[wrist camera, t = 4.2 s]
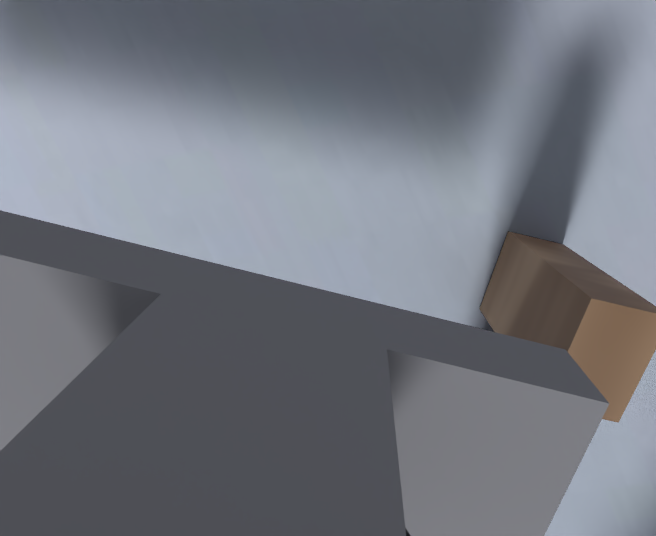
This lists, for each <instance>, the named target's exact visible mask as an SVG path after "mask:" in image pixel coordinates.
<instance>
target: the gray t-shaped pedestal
mask: <svg viewBox="0 0 656 536" xmlns="http://www.w3.org/2000/svg"><path fill="white" fill-rule="evenodd" d="M608 405H609V402H608V401H607V400H606V399H605V398H604V396H603V395H602V394H601V393H600V391H599V390H598V389H597V388H596V386H595V385H594V384H593V383H592V382H591V380H590V379H589V378H588V377H587V375H586V374H585V373H584V372H583V370H582V369H581V368H580V367H579V366H578V364H577V363H576V362H575V361H574V359H573V358H572V357H571V356H570V354H569V353H568V352H567V351H566V350H565V349H561V348H557V347H553V346H549V345H545V344H541V343H537V342H533V341H529V340H524V339H520V338H516V337H512V336H508V335H504V334H500V333H496V332H492V331H488V330H484V329H480V328H476V327H472V326H468V325H463V324H459V323H455V322H451V321H447V320H443V319H439V318H435V317H431V316H427V315H423V314H419V313H415V312H411V311H407V310H403V309H398V308H394V307H390V306H386V305H382V304H378V303H374V302H370V301H366V300H362V299H358V298H354V297H350V296H346V295H342V294H337V293H333V292H329V291H325V290H321V289H317V288H313V287H309V286H305V285H301V284H297V283H293V282H289V281H285V280H281V279H276V278H272V277H268V276H264V275H260V274H256V273H252V272H248V271H244V270H240V269H236V268H232V267H228V266H224V265H220V264H216V263H211V262H207V261H203V260H199V259H195V258H191V257H187V256H183V255H179V254H175V253H171V252H167V251H163V250H159V249H155V248H150V247H146V246H142V245H138V244H134V243H130V242H126V241H122V240H118V239H114V238H110V237H106V236H102V235H98V234H94V233H89V232H85V231H81V230H77V229H73V228H69V227H65V226H61V225H57V224H53V223H49V222H45V221H41V220H37V219H33V218H29V217H24V216H20V215H16V214H12V213H8V212H4V211H0V536H406V529H407V531H408V532H409V534H410V535H411V536H544V535H545V533H546V531H547V529H548V527H549V525H550V523H551V521H552V518H553V516H554V514H555V512H556V510H557V508H558V506H559V504H560V502H561V500H562V498H563V496H564V494H565V492H566V490H567V488H568V486H569V484H570V482H571V480H572V478H573V476H574V474H575V472H576V470H577V468H578V466H579V464H580V462H581V460H582V458H583V456H584V454H585V452H586V450H587V448H588V446H589V444H590V442H591V440H592V438H593V436H594V434H595V432H596V430H597V428H598V426H599V424H600V422H601V420H602V418H603V416H604V414H605V412H606V410H607V408H608ZM405 527H406V529H405Z"/></svg>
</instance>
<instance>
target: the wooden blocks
mask: <svg viewBox="0 0 656 536" xmlns="http://www.w3.org/2000/svg"><path fill="white" fill-rule="evenodd" d="M480 311H481V312H482V314H483V315H484V317H485V318H486V320H487V321H488V323H489V324H490V326H491V327H492V329H493V330H494V332H496V333H500V334H504V335H508V336H512V337H516V338H520V339H524V340H529V341H533V342H537V343H541V344H545V345H549V346H553V347H557V348H561V349H565V350H566V351H567V352H568V353H569V354H570V356H571V357H572V358H573V359H574V361H575V362H576V363H577V364H578V366H579V367H580V368H581V369H582V370H583V372H584V373H585V374H586V375H587V377H588V378H589V379H590V380H591V382H592V383H593V384H594V385H595V386H596V388H597V389H598V390H599V391H600V393H601V394H602V395H603V396H604V398H605V399H606V400H607V401H608V402H609V405H608V408H607V410H606V412H605V414H604V416H603V418H602V419H605V420H610V421H614V422H619V420H620V418H621V416H622V414H623V412H624V410H625V409H626V407H627V405H628V403H629V401H630V399H631V397H632V395H633V393H634V391H635V389H636V387H637V385H638V383H639V381H640V379H641V377H642V375H643V373H644V371H645V369H646V367H647V365H648V363H649V361H650V359H651V357H652V356H653V354H654V352H655V350H656V306H654V305H653V304H651V303H650V302H648V301H647V300H645V299H644V298H642V297H641V296H639V295H638V294H636V293H635V292H633V291H632V290H630V289H629V288H627V287H626V286H624V285H623V284H622V283H620V282H619V281H617V280H616V279H614V278H613V277H611V276H610V275H608V274H607V273H605V272H604V271H602V270H601V269H599V268H598V267H596V266H595V265H593V264H592V263H590V262H589V261H587V260H586V259H584V258H583V257H581V256H580V255H578V254H577V253H575V252H574V251H572V250H571V249H569V248H568V247H566V246H565V245H563V244H559V243H555V242H551V241H547V240H543V239H538V238H534V237H530V236H526V235H522V234H518V233H514V232H509V231H508V233H507V236H506V238H505V241H504V244H503V247H502V249H501V252H500V255H499V257H498V260H497V263H496V266H495V268H494V271H493V274H492V276H491V279H490V282H489V285H488V287H487V290H486V293H485V295H484V298H483V301H482V304H481V306H480Z"/></svg>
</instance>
